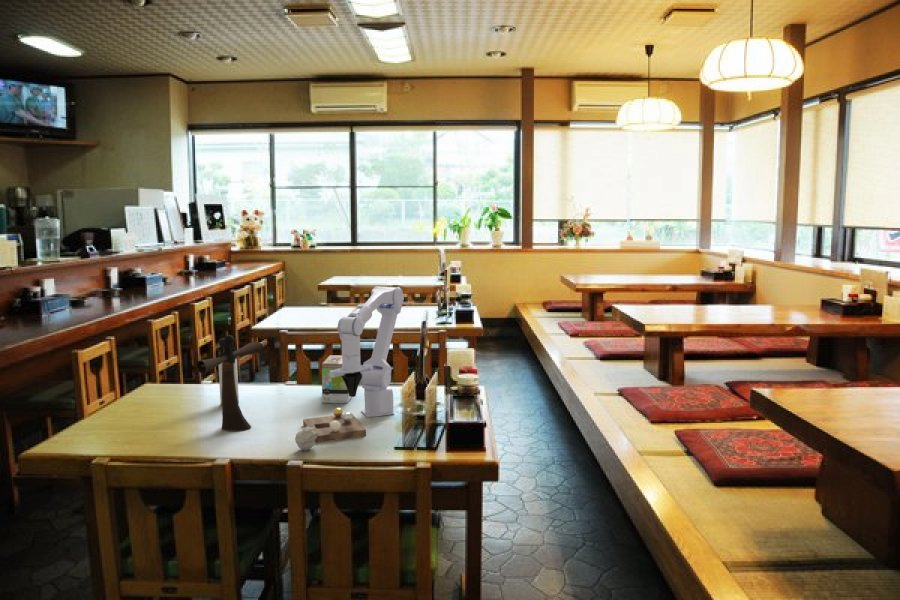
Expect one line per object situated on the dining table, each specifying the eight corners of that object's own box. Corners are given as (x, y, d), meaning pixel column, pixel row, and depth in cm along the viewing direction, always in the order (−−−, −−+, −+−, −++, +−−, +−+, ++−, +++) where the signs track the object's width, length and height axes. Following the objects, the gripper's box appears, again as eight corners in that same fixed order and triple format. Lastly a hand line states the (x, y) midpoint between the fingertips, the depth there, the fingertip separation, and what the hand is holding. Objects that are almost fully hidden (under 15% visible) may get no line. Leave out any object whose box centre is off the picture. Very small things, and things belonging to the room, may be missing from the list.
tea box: (349, 403, 238) (348, 363, 236) (321, 403, 238) (320, 363, 236) (356, 392, 253) (355, 354, 251) (329, 392, 253) (328, 354, 251)
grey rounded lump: (308, 455, 187) (307, 431, 186) (290, 451, 191) (289, 427, 190) (323, 449, 192) (322, 425, 191) (305, 444, 196) (304, 422, 195)
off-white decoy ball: (339, 429, 204) (339, 418, 203) (342, 432, 200) (341, 421, 200) (328, 430, 202) (328, 419, 202) (331, 433, 199) (330, 423, 199)
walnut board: (351, 419, 220) (351, 413, 219) (366, 435, 203) (366, 429, 203) (303, 425, 214) (303, 419, 213) (313, 443, 197) (313, 436, 197)
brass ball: (341, 414, 218) (341, 406, 217) (343, 417, 215) (343, 408, 214) (332, 416, 216) (332, 407, 216) (334, 418, 214) (334, 409, 213)
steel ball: (351, 420, 212) (351, 410, 211) (353, 423, 209) (353, 413, 208) (341, 421, 211) (341, 411, 210) (344, 424, 208) (343, 414, 207)
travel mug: (243, 403, 238) (240, 348, 236) (228, 408, 233) (225, 352, 230) (231, 400, 242) (229, 347, 239) (216, 405, 236) (213, 350, 233)
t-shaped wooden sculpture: (250, 412, 228) (246, 326, 224) (275, 414, 225) (271, 327, 221) (192, 442, 198) (186, 344, 194) (220, 445, 195) (215, 345, 191)
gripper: (365, 349, 217) (366, 389, 219) (324, 355, 208) (325, 397, 210) (375, 352, 211) (376, 394, 213) (334, 359, 203) (336, 402, 205)
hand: (352, 396), depth 211 cm, fingers closed
